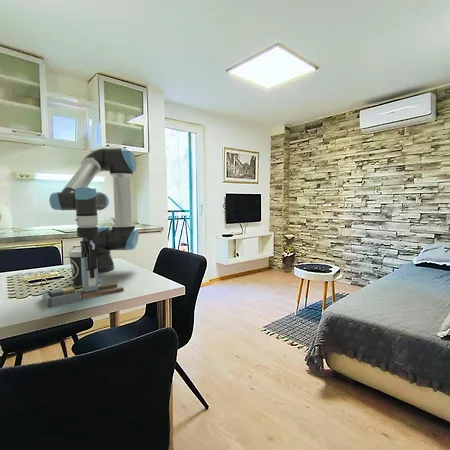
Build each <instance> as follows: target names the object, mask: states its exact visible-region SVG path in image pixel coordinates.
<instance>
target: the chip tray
mask: <svg viewBox="0 0 450 450" xmlns="http://www.w3.org/2000/svg"><path fill="white" fill-rule="evenodd" d="M67 287H68V286H67ZM67 287H65V288H67ZM71 287H74V286H71ZM62 288H63V287H62ZM62 288H61V287H60V288H59V289H62ZM56 289H57V288H56ZM56 289H54V290H56ZM50 290H51V289H50ZM50 290H44V291H42V300H43V301H44V303H45V304H46V305H47V306H48V308H51V307H52V308H53V307H56V306H61V305H65V304H71V303H76V302H81V299H82V296H81V295H82V294H80V292H78V293H77V292H75V293H73V294H67V295H62V296H57V297H52V298H51V297H50V296H49V291H50Z"/></svg>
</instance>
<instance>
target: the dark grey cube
mask: <svg viewBox="0 0 450 450" xmlns="http://www.w3.org/2000/svg"><path fill="white" fill-rule="evenodd" d="M48 291H49V290H48ZM62 295H64V291H63V290H62V289H60V288H56V290H55V289H50V291H49V296H50V297H51V298H52V297H57V296H62Z"/></svg>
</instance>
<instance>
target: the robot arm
mask: <svg viewBox="0 0 450 450" xmlns="http://www.w3.org/2000/svg"><path fill="white" fill-rule="evenodd" d="M136 159H137V158H136V156H135V153H134V152H133V150H132V149H130V148H122V147H121V148H99V149H96V150H94V151H92V152H90V153H89V154H87V155H86V156H85V157H84V158H83V159H82V161H81V162H80V167H79V168H78V170H77V171H76V172H75V173H74V175H72V177H71V178H70V180H69V181H68V182H67V184H66V185H65V186H64V188H63V189H61V192H60V191H57V192H52V193H51V194H50V196H49V198H48V199H49V200H48V201H49V205H50V208H51V209H53V210H55V211H62V212H63V211H75V213H76V214H75V215H76V218H75V219H74V221H75V222H76V226H77V228H76V235H77V237H78V238H82V240H80V242H79V244H80V249H81V256H82V257H87V262H88V269H86V270H87V273H88V286H95V285H96V276H95V269H97V264H98V273H104V272H108V271H112V270H114V269H115V262H114V261H113V258H112V255H111V251H133V250H134V249H136V248H137V245H138V241H139V235H140V234H139V229H138V228H136V226H135V224H134V223H133V221H132V194H131V190H132V189H131V178H132V176H133V175H134V172H136V170H137V160H136ZM101 172H109V175H110V176H111V177H112V181H113V183H112V184H113V185H112V187H113V207H114V209H113V211H114V223H113V224H112V225H111V228H110V225H106V226H98V225H99V220H98V211H102V210H104V209H106V208H107V207H108V206H109V205H110V204H109V203H110V198H109V197H108V195H107V194H106V193H103V192H97V189H96V187H94V186H90V184H91V182H92V181H93V179H94V178H95V176H97V175H99V174H100V173H101Z"/></svg>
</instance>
